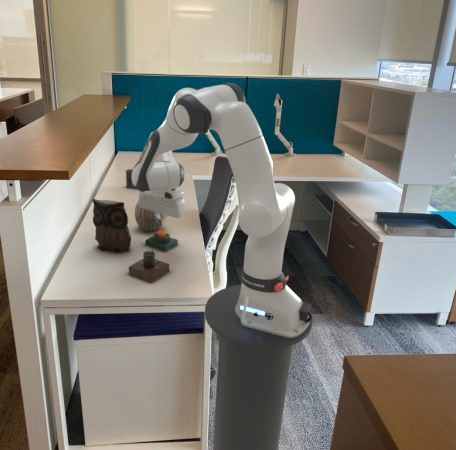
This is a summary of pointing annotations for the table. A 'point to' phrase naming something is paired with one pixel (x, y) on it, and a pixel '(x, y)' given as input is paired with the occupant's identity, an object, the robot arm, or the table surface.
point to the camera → (129, 179)
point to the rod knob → (149, 259)
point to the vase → (146, 219)
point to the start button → (161, 234)
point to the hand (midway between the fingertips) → (160, 223)
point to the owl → (111, 226)
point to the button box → (162, 242)
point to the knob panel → (149, 270)
